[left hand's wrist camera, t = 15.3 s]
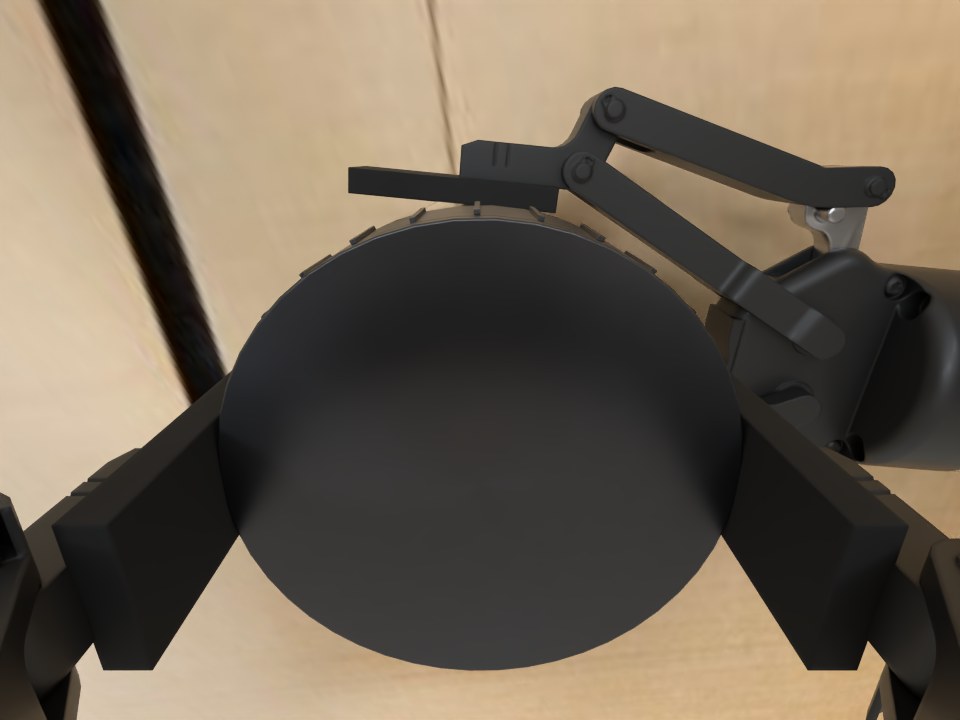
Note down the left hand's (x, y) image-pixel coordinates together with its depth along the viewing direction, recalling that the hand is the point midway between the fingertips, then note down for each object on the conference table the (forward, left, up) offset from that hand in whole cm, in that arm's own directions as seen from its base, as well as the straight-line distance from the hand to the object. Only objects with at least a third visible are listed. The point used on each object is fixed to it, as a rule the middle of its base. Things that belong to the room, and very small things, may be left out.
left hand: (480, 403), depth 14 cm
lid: (0, 0, +3) cm, 3 cm away
